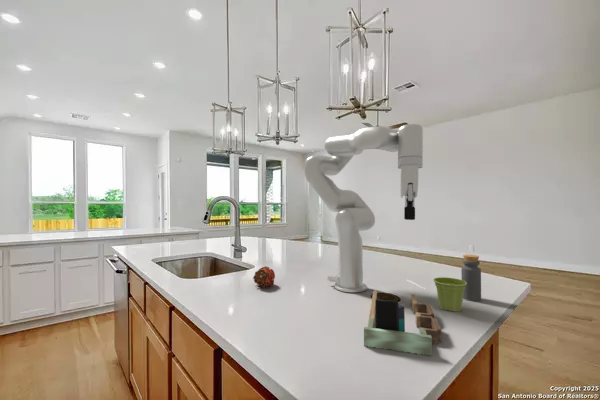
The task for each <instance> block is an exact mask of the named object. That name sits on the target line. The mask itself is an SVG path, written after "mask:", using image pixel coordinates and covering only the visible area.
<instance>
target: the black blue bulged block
mask: <svg viewBox="0 0 600 400" xmlns="http://www.w3.org/2000/svg"><path fill="white" fill-rule="evenodd" d="M375 304H376V314H375V328H377V329H385V330H393V331H401V332H406V329H405V328H406V324H405V322H406V321H405V320H406V319H405V316H406V315H405V305H404V304H400V303H399V301H398V300H387V299H386V300H383V299H377V300H375Z"/></svg>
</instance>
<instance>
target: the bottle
mask: <svg viewBox="0 0 600 400" xmlns="http://www.w3.org/2000/svg"><path fill="white" fill-rule="evenodd" d="M479 257H480V256H478V255H476V254H463V259H462V264H463V266H461V271H460V272H461V280H463V281H465V282H466V283H467V285H465V289H464V292H463V300H465V301H470V302H480V301H482V269H481V268H480V267H479V265H480V261H479Z"/></svg>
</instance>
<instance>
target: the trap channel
mask: <svg viewBox="0 0 600 400" xmlns="http://www.w3.org/2000/svg"><path fill="white" fill-rule="evenodd" d="M371 296H372V298H371V304H370V308H369V316H368V322H367V326H364V327H363V347H367V346H368V347H367V348H373V347H376V348H375V349H380V348H384V349H383V350H387V349H392V350H391V351H394V350H398V351H397V352H401V351H404V352H403V353H407V352H411V353H410V354H414V353H417V355H421V354H423V355H422V356H428V355H430V357H432V356H433V344H435V345H436V344H437V345H438V344H439V343H442V329H441V326H440V324H439V321H438V320H437V318H435V313H434V310H433V308H432V305H431V304H427V303H422V302H418V301H417V297H416V294H410V304H411V309H412V313H413V314H415V326H416V328H418V330H419V333H417V332H415V333H414V332H408V331H405V332H401V331H393V330H385V329H377V328H376V327H375V324H376V304H375V300H378V291H377V290H373V291H372V295H371ZM424 354H425V355H424Z"/></svg>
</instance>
